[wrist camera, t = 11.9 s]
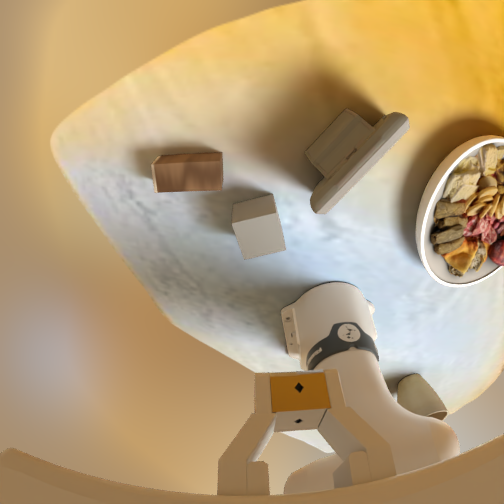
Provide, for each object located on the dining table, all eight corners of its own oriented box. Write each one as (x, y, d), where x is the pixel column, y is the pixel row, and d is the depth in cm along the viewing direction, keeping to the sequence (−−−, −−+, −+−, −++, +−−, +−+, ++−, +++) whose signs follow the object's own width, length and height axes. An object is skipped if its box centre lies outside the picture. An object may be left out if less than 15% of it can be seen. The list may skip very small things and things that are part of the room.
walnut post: (161, 181, 43) (223, 179, 43) (154, 192, 39) (221, 190, 40) (158, 155, 41) (222, 152, 41) (150, 164, 37) (219, 161, 37)
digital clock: (316, 200, 45) (333, 238, 36) (279, 155, 41) (289, 183, 32) (402, 141, 39) (439, 165, 31) (371, 90, 35) (407, 101, 27)
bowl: (380, 255, 51) (395, 283, 45) (451, 98, 35) (482, 109, 29) (477, 281, 56) (493, 304, 50) (538, 169, 40) (562, 185, 33)
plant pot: (415, 391, 82) (428, 432, 69) (378, 394, 80) (390, 439, 67) (440, 364, 74) (458, 407, 61) (402, 366, 72) (419, 415, 59)
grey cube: (281, 228, 48) (286, 250, 43) (244, 237, 49) (244, 259, 44) (272, 193, 44) (276, 212, 39) (233, 203, 45) (231, 223, 40)
